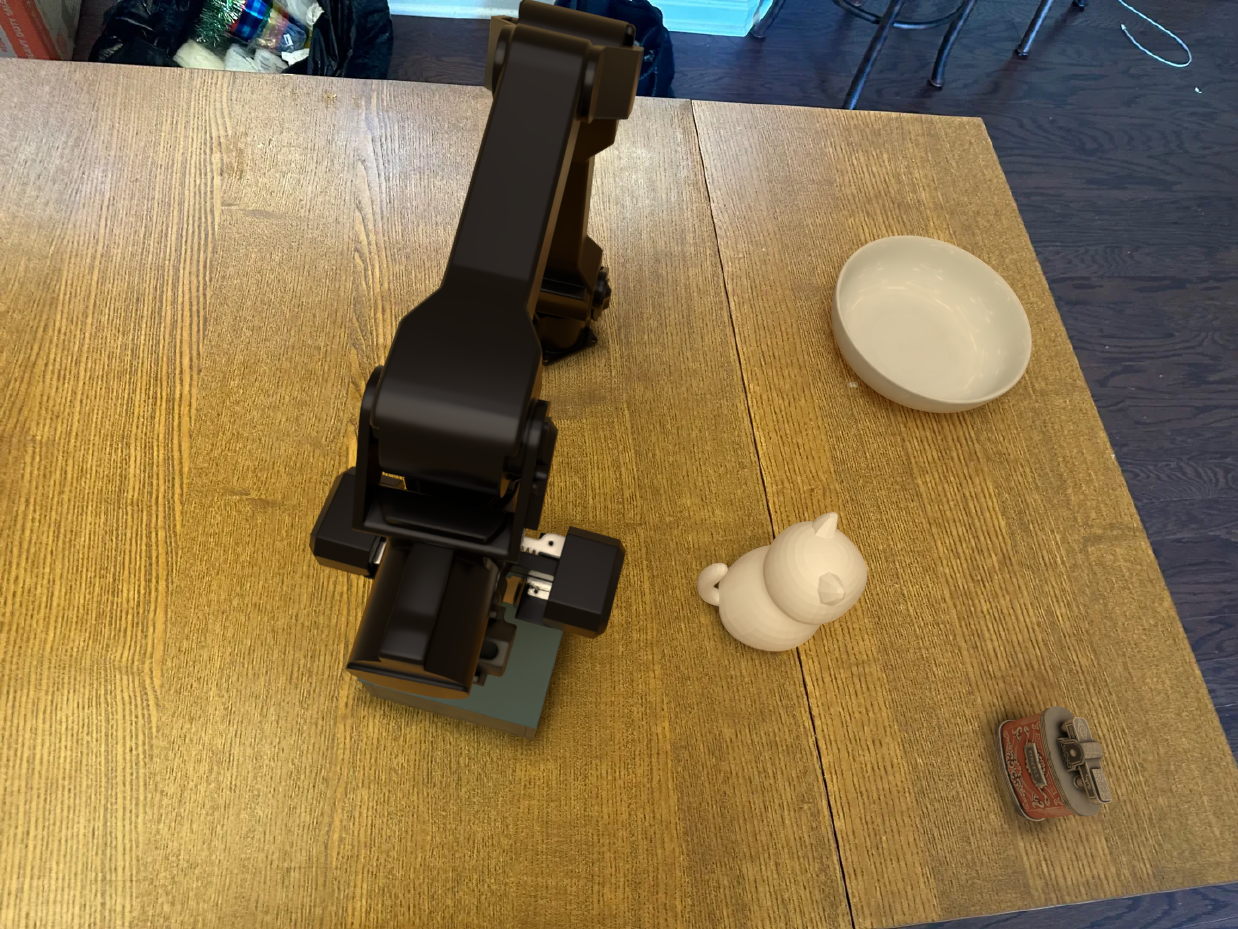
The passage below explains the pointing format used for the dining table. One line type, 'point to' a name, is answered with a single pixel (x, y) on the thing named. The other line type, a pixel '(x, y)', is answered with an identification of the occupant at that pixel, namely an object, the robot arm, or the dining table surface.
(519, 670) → the chest lid
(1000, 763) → the lighter
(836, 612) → the cat figurine
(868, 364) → the serving bowl
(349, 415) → the dining table surface
